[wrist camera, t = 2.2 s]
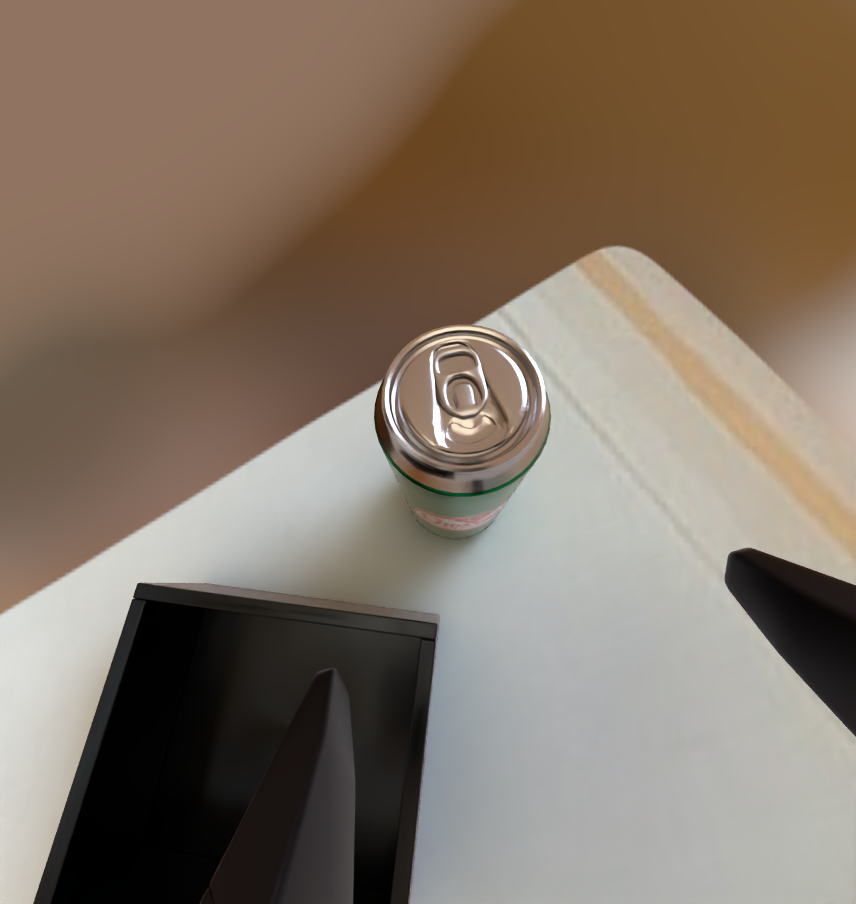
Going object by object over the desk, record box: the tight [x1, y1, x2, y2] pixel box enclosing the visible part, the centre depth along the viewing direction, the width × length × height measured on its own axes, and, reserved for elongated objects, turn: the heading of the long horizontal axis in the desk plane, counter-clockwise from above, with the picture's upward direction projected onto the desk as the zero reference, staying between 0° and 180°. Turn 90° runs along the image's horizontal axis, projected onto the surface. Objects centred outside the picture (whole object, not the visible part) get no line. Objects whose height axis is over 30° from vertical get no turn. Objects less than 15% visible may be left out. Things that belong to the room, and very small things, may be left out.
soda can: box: [374, 325, 551, 539], centre depth 16 cm, size 5×5×12 cm
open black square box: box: [33, 583, 440, 904], centre depth 17 cm, size 11×12×5 cm
